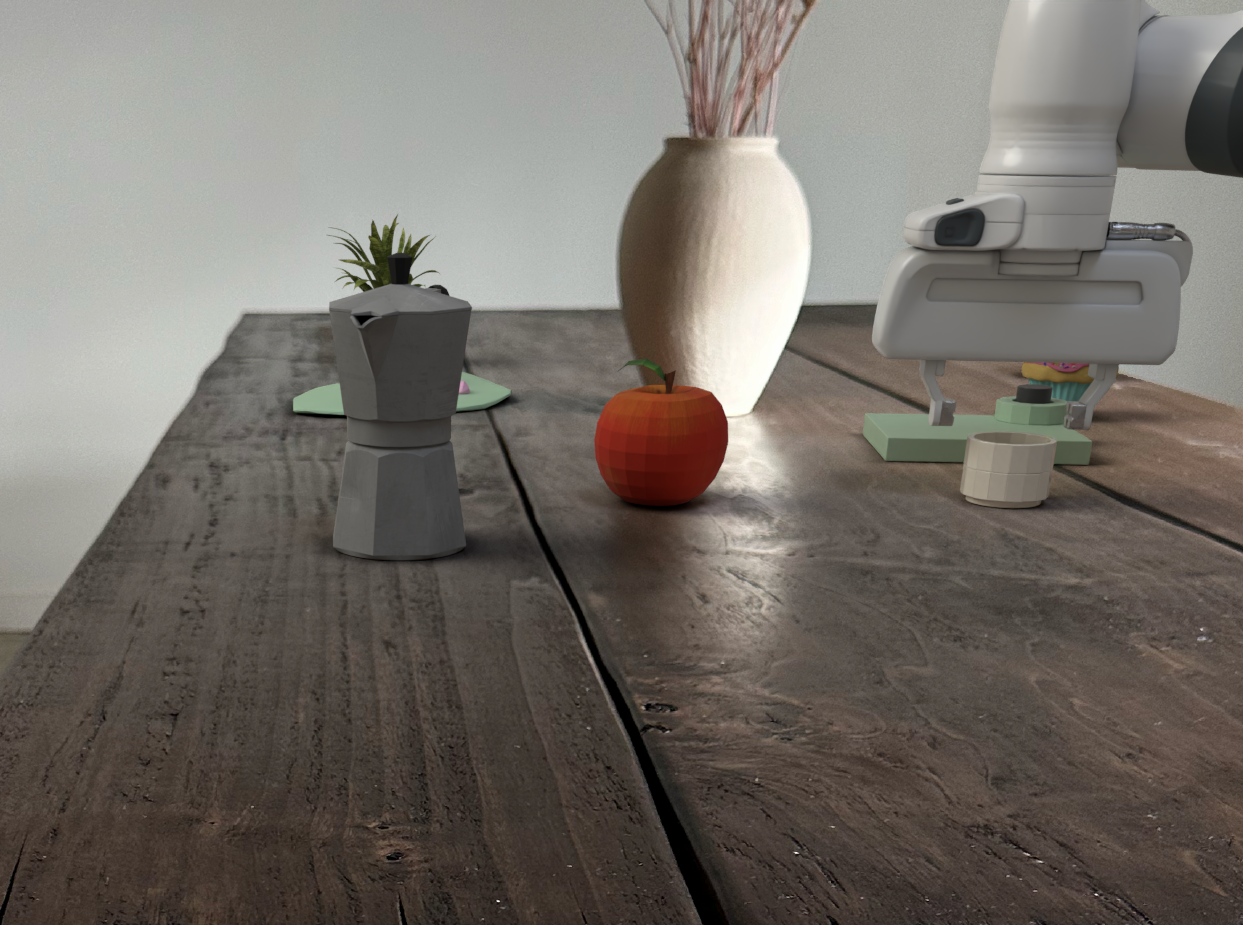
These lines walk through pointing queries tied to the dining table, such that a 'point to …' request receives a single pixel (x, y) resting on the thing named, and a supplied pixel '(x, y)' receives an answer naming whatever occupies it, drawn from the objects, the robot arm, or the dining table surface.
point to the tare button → (1034, 394)
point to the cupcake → (1060, 378)
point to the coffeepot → (399, 418)
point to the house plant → (380, 257)
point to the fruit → (661, 441)
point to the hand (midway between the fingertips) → (1007, 427)
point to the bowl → (1007, 469)
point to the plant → (470, 397)
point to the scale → (948, 443)
